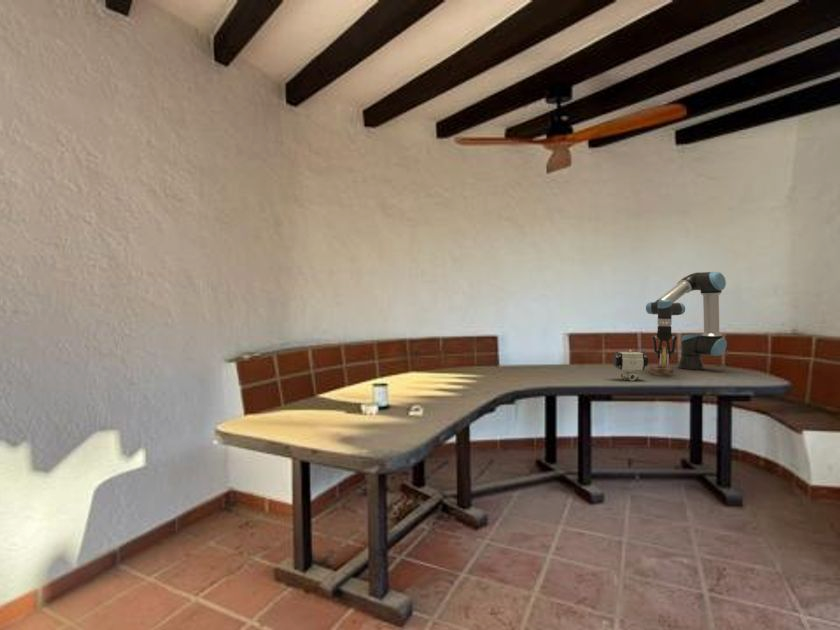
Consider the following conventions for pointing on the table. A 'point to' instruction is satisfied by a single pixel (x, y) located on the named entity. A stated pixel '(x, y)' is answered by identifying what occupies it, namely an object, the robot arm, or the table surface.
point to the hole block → (661, 370)
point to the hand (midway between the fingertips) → (663, 364)
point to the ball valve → (630, 363)
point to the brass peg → (664, 357)
